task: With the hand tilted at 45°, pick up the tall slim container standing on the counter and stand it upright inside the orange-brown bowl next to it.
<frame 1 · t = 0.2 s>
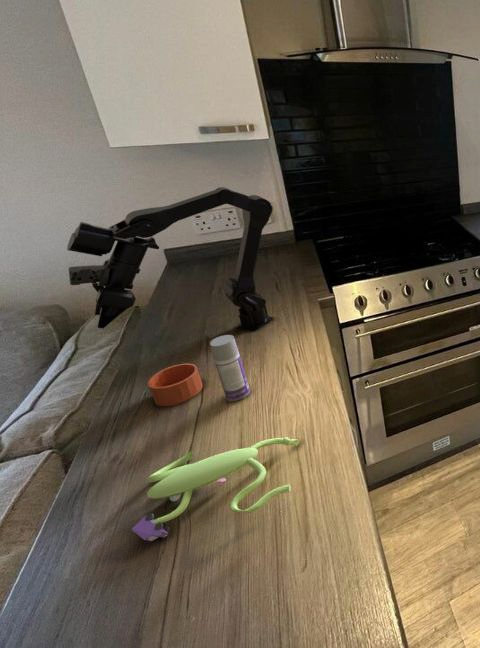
hand: (98, 321, 105), 15 cm above the table, tool tilted 30°, fingers open, 9 cm apart
orange-brown bowl: (179, 392, 103), on the table
container: (238, 395, 103), on the table
figurine: (228, 490, 80), on the table
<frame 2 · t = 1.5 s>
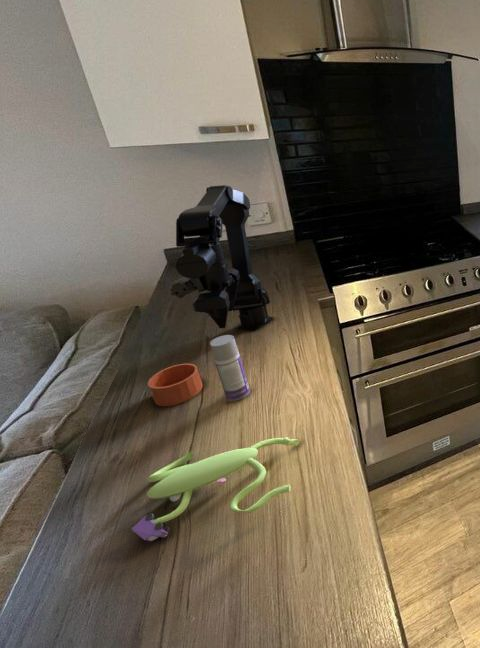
hand: (226, 319, 110), 13 cm above the table, tool pointing down, fingers open, 9 cm apart
nothing on the table moved.
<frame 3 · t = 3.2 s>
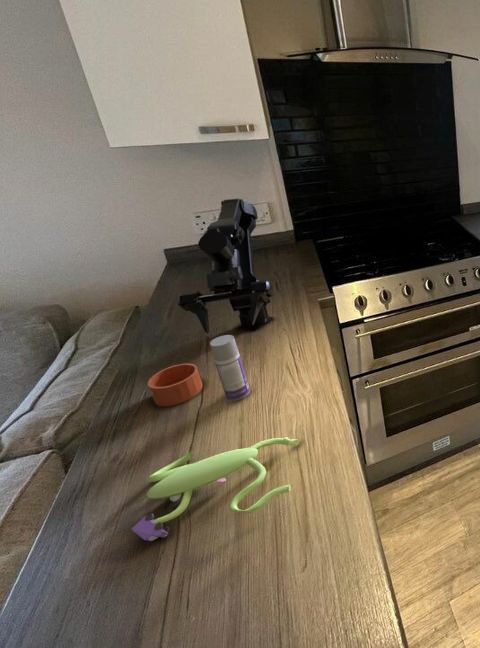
hand: (230, 328, 105), 13 cm above the table, tool tilted 45°, fingers open, 9 cm apart
nothing on the table moved.
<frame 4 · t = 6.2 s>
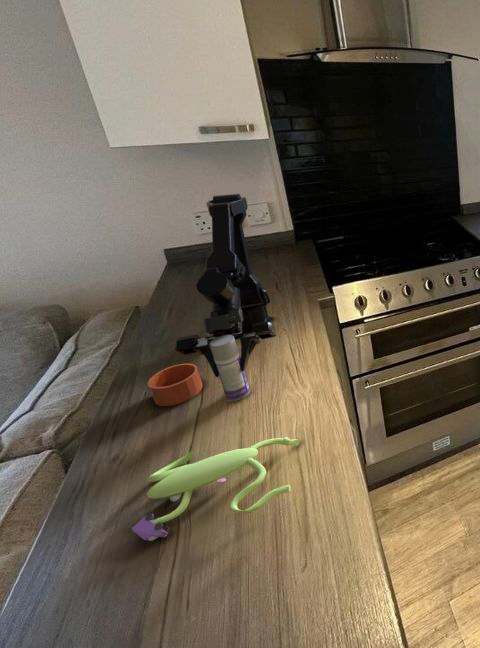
hand: (229, 373, 99), 7 cm above the table, tool tilted 45°, fingers closed on container, 4 cm apart
container: (238, 395, 103), on the table, touching gripper
everything else where it was.
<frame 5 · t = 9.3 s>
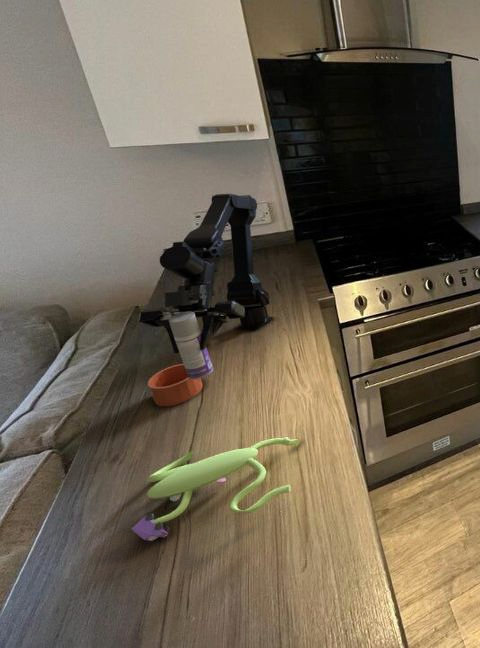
hand: (189, 351, 97), 13 cm above the table, tool tilted 45°, fingers closed on container, 4 cm apart
container: (201, 373, 101), point 6 cm above the table, touching gripper
everything else where it was.
when the fingers open (7 cm above the table, at t = 12.7 s): container stays where it is, resting on orange-brown bowl.
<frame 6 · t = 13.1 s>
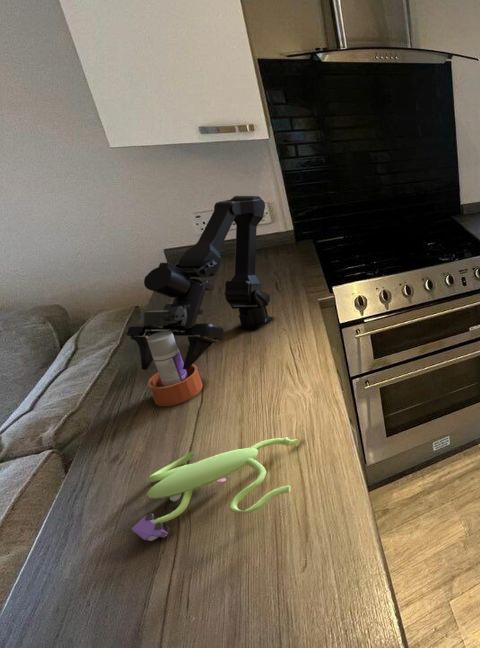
hand: (164, 369, 99), 8 cm above the table, tool tilted 45°, fingers open, 9 cm apart
container: (179, 390, 104), resting on orange-brown bowl
everything else where it was.
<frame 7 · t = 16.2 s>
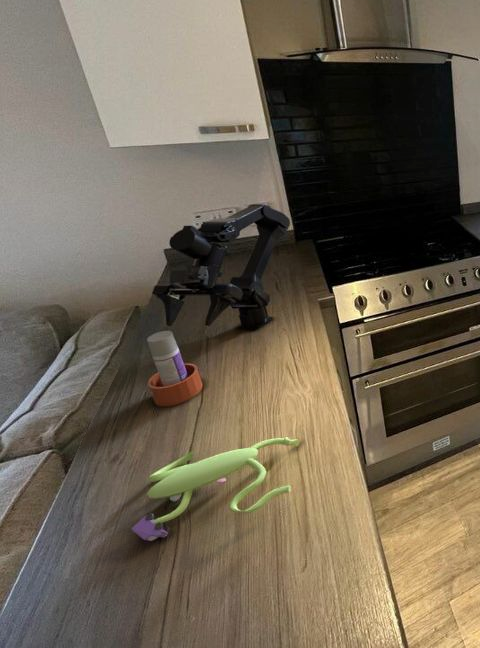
hand: (187, 325, 106), 13 cm above the table, tool tilted 45°, fingers open, 9 cm apart
nothing on the table moved.
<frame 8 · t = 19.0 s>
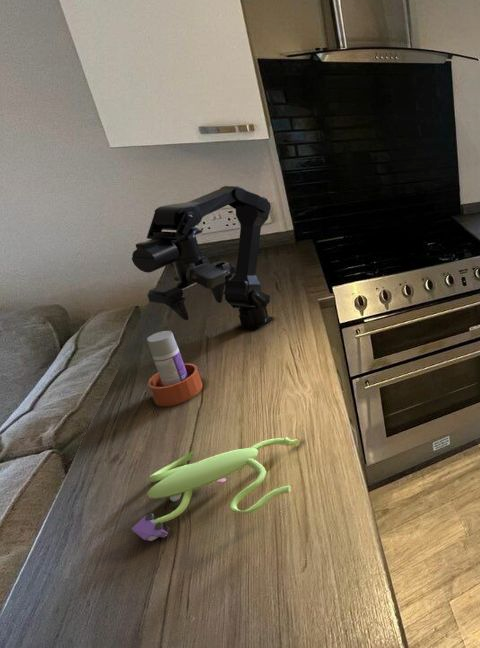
hand: (203, 310, 114), 13 cm above the table, tool pointing down, fingers open, 9 cm apart
nothing on the table moved.
at the end: container 0.2 cm off-centre in the orange-brown bowl, point 0.4 cm above the orange-brown bowl's base; container tilted 0°; the gripper is holding nothing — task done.
